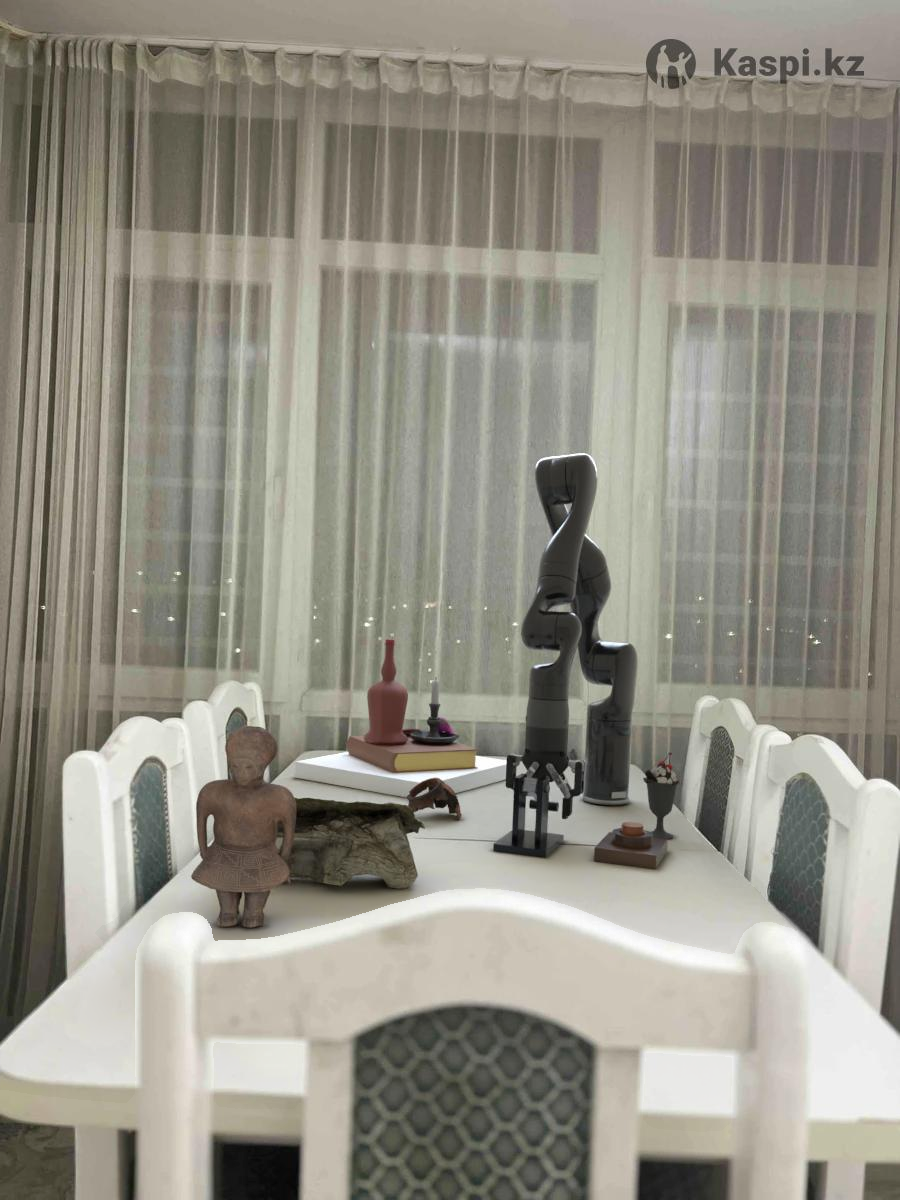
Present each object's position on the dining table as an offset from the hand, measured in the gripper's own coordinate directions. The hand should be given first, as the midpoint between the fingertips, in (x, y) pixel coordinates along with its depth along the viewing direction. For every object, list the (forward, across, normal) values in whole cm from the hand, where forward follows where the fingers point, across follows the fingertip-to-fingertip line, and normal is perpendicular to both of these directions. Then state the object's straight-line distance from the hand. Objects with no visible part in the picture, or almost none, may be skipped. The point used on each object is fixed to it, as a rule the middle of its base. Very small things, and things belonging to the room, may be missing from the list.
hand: (543, 815), depth 186 cm
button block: (+3, -17, +7) cm, 19 cm away
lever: (-3, 0, +5) cm, 6 cm away
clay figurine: (+4, +22, +65) cm, 68 cm away
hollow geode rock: (+4, +21, +43) cm, 48 cm away
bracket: (+4, 0, +9) cm, 9 cm away
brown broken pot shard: (+4, +22, -4) cm, 23 cm away
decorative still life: (+4, +41, -39) cm, 57 cm away
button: (0, -17, +7) cm, 18 cm away
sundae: (+4, -19, -10) cm, 22 cm away
